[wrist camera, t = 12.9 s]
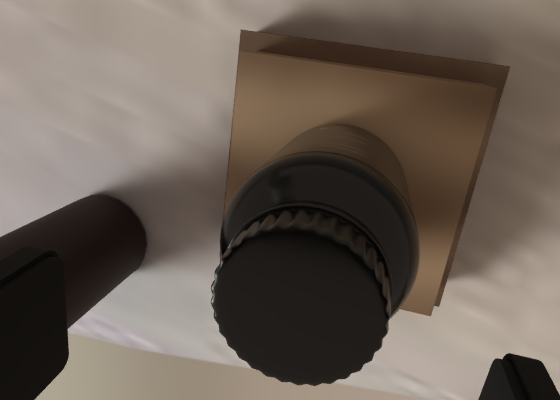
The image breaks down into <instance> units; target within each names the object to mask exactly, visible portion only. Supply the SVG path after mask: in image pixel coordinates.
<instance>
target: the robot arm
mask: <svg viewBox="0 0 560 400" xmlns="http://www.w3.org/2000/svg"><path fill="white" fill-rule="evenodd" d="M68 356H69V349H68V331H67V314H66V296H65V278H64V264H63V261H62V260H61V259H60V258H59V257H58V254H57V253H56V252H55V251H54V250H50V249H45V248H41V247H36V246H30V245H28V246H26V247H23V248H22V249H20V250H18V251H17V252H15V253H13V254H11V255H10V256H8V257H6V258H4V259H3V260H1V261H0V400H34V399H35V398H36V397H37V396H38V395H39V394H40V393H41V392H42V391H43V390H44V389H45V388H46V387H47V386H48V385H49V384H50V383H51V382H52V381H53V379H54V378H55V377H56V376H57V375H58V374H59V373H60V372H61V371H62V370H63V369H64V367H65V365H66V363H67V360H68ZM479 400H560V395H559V393H558V391H557V389H556V387H555V385H554V383H553V381H552V379H551V378H550V376H549V374H548V372H547V370H546V368H545V366H544V364H543V363H542V362H541V361H539V360H537V359H532V358H528V357H523V356H519V355H514V354H510V353H509V354H506V355H505V356H504V357H503V359H498V358H497V359H495V360H494V361H493V363H492V365H491V367H490V370H489V373H488V376H487V378H486V381H485V384H484V386H483V389H482V392H481V394H480V397H479Z"/></svg>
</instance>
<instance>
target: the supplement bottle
mask: <svg viewBox="0 0 560 400" xmlns="http://www.w3.org/2000/svg"><path fill="white" fill-rule="evenodd" d="M220 252H221V263H220V264H219V266H218V267H217V268H216V270H215V280H214V282H213V283H212V285H211V290H212V293H213V296H212V299H211V304H212V307H213V309H214V319H215V320H216V322H217V323H218V324H219V331H220V333H221V334H222V335H223V336H224V337H225V338H226V340H227V344H228V346H229V347H231V348H232V349H233V350H235V351H236V353H237V355H238V357H239V358H241V359H242V360H244V361H246V362H247V363H248V364H249V365H250V366H251V368H253V369H256V370H259V371H261V372H262V373H263V374H264V375H266V376H268V377H275V378H276V379H278V380H279V381H281V382H292V383H294V384H296V385H303V384H309V385H313V386H316V385H319V384H321V383H327V384H331V383H333V382H335V381H336V380H338V379H346V378H347V377H349V376H350V374H351V373H355V372H358V371H360V370H361V369H362V367H363V365H364V364H365V363H368V362H370V361H372V359H373V356H374V353H375V352H376V351H378V350H379V349H380V348H381V347H382V341H383V338H384V337H385V336H386V334H387V333H388V329H389V325H388V321H389V319H390V318H391V317H392V316H393V315H394V314H395V313H396V312H397V311H398V310H399V309H400V308H401V306H402V305H403V304H404V302H405V301H406V299H407V298H408V296H409V294H410V292H411V290H412V288H413V285H414V283H415V280H416V277H417V273H418V268H419V260H420V246H419V236H418V231H417V226H416V221H415V217H414V213H413V208H412V204H411V199H410V195H409V191H408V186H407V182H406V178H405V175H404V172H403V169H402V166H401V164H400V162H399V160H398V158H397V157H396V155H395V154H394V152H393V151H392V150H391V148H390V147H389V146H388V145H387V144H386V143H385V142H384V141H383V140H381V139H380V138H379V137H377V136H376V135H374V134H373V133H371V132H369V131H367V130H365V129H362V128H360V127H357V126H353V125H347V124H327V125H321V126H318V127H314V128H312V129H309V130H307V131H305V132H303V133H301V134H300V135H298V136H297V137H295V138H294V139H293V140H291V141H290V142H289V143H287V144H286V145H285V146H284V147H283V148H282V149H281V150H279V151H278V152H277V153H276V154H275V155H274V156H273V157H271V158H270V159H269V160H268V161H267V162H266V163H265V164H263V165H262V166H261V167H260V168H259V169H258V170H257V171H255V172H254V173H253V174H252V175H251V176H250V177H249V178H248V179H247V180H246V181H245V182H244V183H243V185H242V186H241V187H240V188H239V189H238V191H237V192H236V193H235V195H234V196H233V198H232V200H231V202H230V203H229V205H228V208H227V210H226V212H225V215H224V219H223V222H222V227H221V234H220Z"/></svg>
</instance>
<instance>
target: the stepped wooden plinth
mask: <svg viewBox="0 0 560 400" xmlns="http://www.w3.org/2000/svg"><path fill="white" fill-rule="evenodd" d="M509 68H510V66H503V65H495V64H488V63H481V62H474V61H466V60H459V59H452V58H444V57H437V56H430V55H422V54H415V53H408V52H400V51H393V50H386V49H379V48H371V47H364V46H357V45H349V44H342V43H335V42H327V41H320V40H313V39H306V38H298V37H291V36H284V35H276V34H269V33H262V32H254V31H247V30H241V34H240V45H239V55H238V66H237V77H236V87H235V98H234V109H233V119H232V130H231V141H230V151H229V162H228V173H227V183H226V194H225V205H224V215H225V212H226V210H227V208H228V205H229V203H230V202H231V200H232V198H233V196H234V195H235V193H236V192H237V191H238V189H239V188H240V187H241V186H242V185H243V183H244V182H245V181H246V180H247V179H248V178H249V177H250V176H251V175H252V174H253V173H254V172H255V171H257V170H258V169H259V168H260V167H261V166H262V165H263V164H265V163H266V162H267V161H268V160H269V159H270V158H271V157H273V156H274V155H275V154H276V153H277V152H278V151H279V150H281V149H282V148H283V147H284V146H285V145H286V144H287V143H289V142H290V141H291V140H293V139H294V138H295V137H297V136H298V135H300V134H301V133H303V132H305V131H307V130H309V129H312V128H314V127H318V126H321V125H327V124H347V125H353V126H357V127H360V128H362V129H365V130H367V131H369V132H371V133H373V134H374V135H376V136H377V137H379V138H380V139H381V140H383V141H384V142H385V143H386V144H387V145H388V146H389V147H390V148H391V150H392V151H393V152H394V154H395V155H396V157H397V158H398V160H399V162H400V164H401V166H402V169H403V172H404V175H405V178H406V182H407V186H408V191H409V195H410V199H411V204H412V208H413V213H414V217H415V221H416V226H417V231H418V236H419V246H420V260H419V268H418V273H417V277H416V280H415V283H414V285H413V288H412V290H411V292H410V294H409V296H408V298H407V299H406V301H405V302H404V304H403V305H402V306H401V308H400V309H402V310H406V311H411V312H415V313H419V314H423V315H428V316H431V314H432V311H433V307H434V306H438V307H439V305H440V302H441V298H442V295H443V292H444V288H445V285H446V281H447V278H448V275H449V271H450V268H451V264H452V261H453V258H454V254H455V251H456V248H457V244H458V241H459V237H460V234H461V231H462V227H463V224H464V220H465V217H466V214H467V210H468V207H469V204H470V200H471V197H472V193H473V190H474V187H475V183H476V180H477V176H478V173H479V170H480V166H481V163H482V160H483V156H484V153H485V149H486V146H487V143H488V139H489V136H490V132H491V129H492V126H493V122H494V119H495V116H496V112H497V109H498V105H499V102H500V99H501V95H502V92H503V88H504V85H505V82H506V78H507V75H508V72H509ZM224 215H223V219H224ZM220 263H221V252H220Z"/></svg>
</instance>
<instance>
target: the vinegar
mask: <svg viewBox="0 0 560 400" xmlns="http://www.w3.org/2000/svg"><path fill="white" fill-rule="evenodd" d="M28 245H30V246H36V247H41V248H45V249H50V250H54V251H55V252H56V253H57V254H58V257H59V258H60V259H61V260H62V261H63V264H64V278H65V296H66V314H67V329H68V328H69V327H70V326H71V325H73V324H74V323H75V322H76V321H77V320H78V319H80V318H81V317H82V316H83V315H84V314H85V313H86V312H88V311H89V310H90V309H91V308H92V307H93V306H95V305H96V304H97V303H98V302H99V301H100V300H102V299H103V298H104V297H105V296H106V295H107V294H108V293H110V292H111V291H112V290H113V289H114V288H115V287H117V286H118V285H119V284H120V283H121V282H122V281H123V280H125V279H126V278H127V277H128V276H129V275H130V274H132V273H133V272H134V271H135V270H136V269H137V268H138V267H139V265H140V264H141V262H142V260H143V259H144V257H145V251H146V245H147V244H146V237H145V231H144V229H143V227H142V225H141V223H140V221H139V219H138V218H137V216H136V215H135V214H134V213H133V212H132V210H131V209H130V208H129V207H127V206H126V205H125V204H123V203H122V202H120V201H119V200H117V199H114V198H111V197H108V196H100V195H91V196H88V197H85V198H82V199H80V200H78V201H75V202H73V203H71V204H69V205H67V206H65V207H63V208H61V209H59V210H56V211H54V212H52V213H50V214H48V215H46V216H44V217H42V218H40V219H38V220H35V221H33V222H31V223H29V224H27V225H25V226H23V227H21V228H19V229H16V230H14V231H12V232H10V233H8V234H6V235H4V236H2V237H0V261H1V260H3V259H4V258H6V257H8V256H10V255H11V254H13V253H15V252H17V251H18V250H20V249H22V248H23V247H26V246H28Z"/></svg>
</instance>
